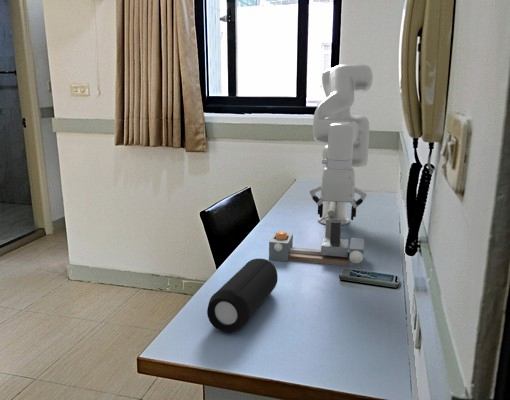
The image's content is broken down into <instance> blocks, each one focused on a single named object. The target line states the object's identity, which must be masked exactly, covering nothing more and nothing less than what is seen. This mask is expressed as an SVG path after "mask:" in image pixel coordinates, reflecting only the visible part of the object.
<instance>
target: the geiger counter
mask: <svg viewBox="0 0 510 400" xmlns="http://www.w3.org/2000/svg"><path fill="white" fill-rule="evenodd" d="M327 212H328V213H327ZM327 212H326V213H325V214H324V216H325V215H326V214H327V217H325V218H324V216H323V217H322V218H321V220H320V221H318V222H319V223H320V222H321V221H322V220H324V219H326V224H325V233H324V234H325V235H324V238H330V234H331V221H332V220H336V217H337V202H331V201H329V206H328V211H327ZM338 217H339V216H338Z"/></svg>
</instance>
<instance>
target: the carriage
mask: <svg viewBox="0 0 510 400" xmlns="http://www.w3.org/2000/svg"><path fill="white" fill-rule="evenodd" d="M341 232H342V225H341V220H332V221H331V234H330V238H325V237H323V238H322V242H321V246H320V250H321V255H329V256H340V257H347V253H348V252H349V241H350V240H349V239H347V238H342V236H341V235H342V233H341Z"/></svg>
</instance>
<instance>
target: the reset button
mask: <svg viewBox="0 0 510 400" xmlns="http://www.w3.org/2000/svg"><path fill="white" fill-rule="evenodd" d="M275 232H276V239H278V240H287V233H288V232H286V231H283V230H281V231H280V230H279V231H275Z"/></svg>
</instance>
